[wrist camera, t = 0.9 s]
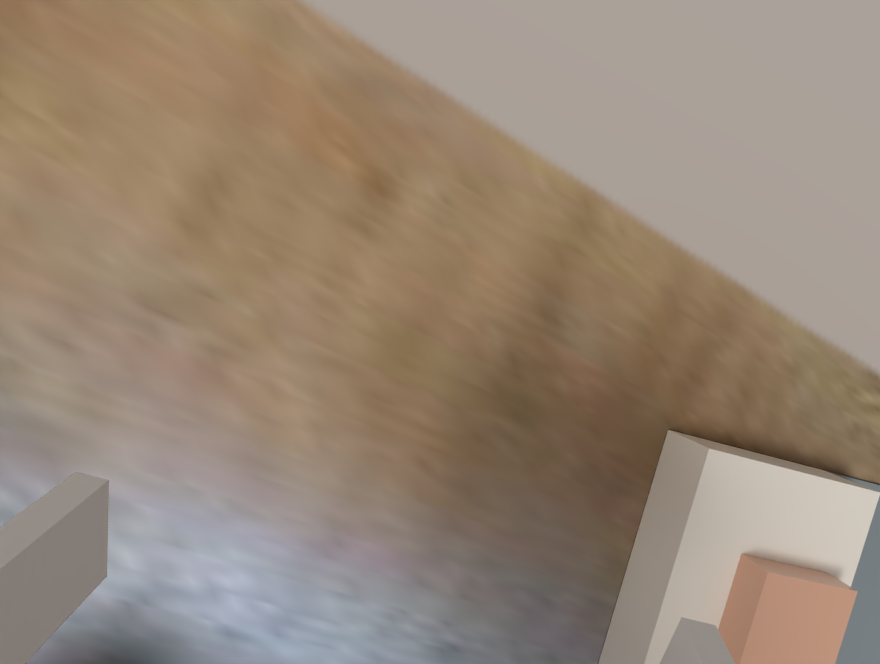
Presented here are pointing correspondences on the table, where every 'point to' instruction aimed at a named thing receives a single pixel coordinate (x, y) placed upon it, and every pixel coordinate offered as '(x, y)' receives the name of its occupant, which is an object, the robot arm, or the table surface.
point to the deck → (727, 536)
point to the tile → (784, 614)
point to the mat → (865, 598)
